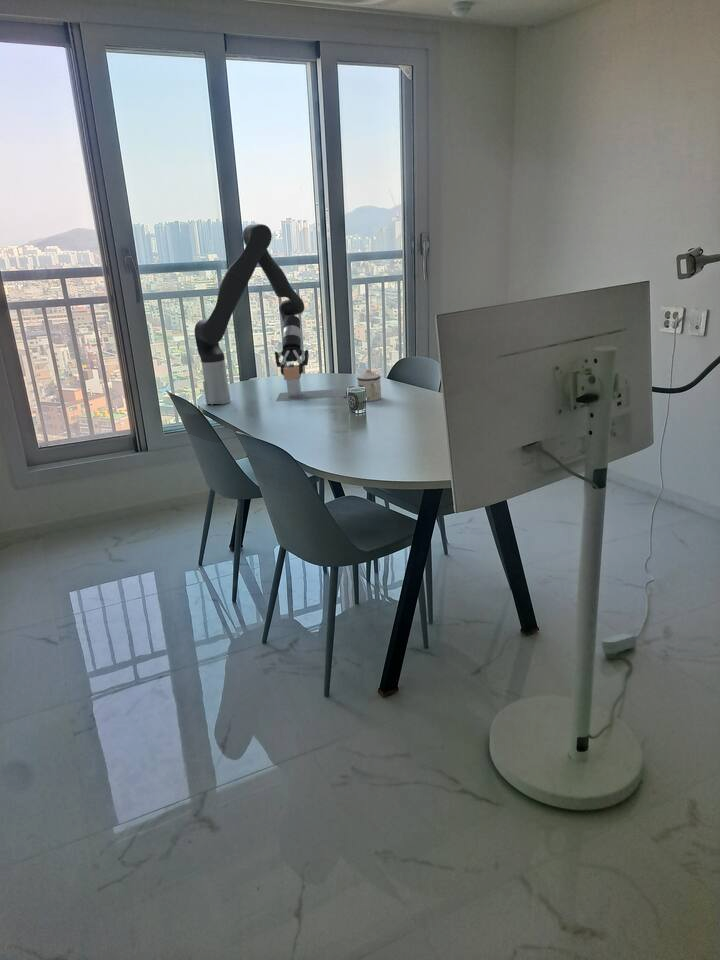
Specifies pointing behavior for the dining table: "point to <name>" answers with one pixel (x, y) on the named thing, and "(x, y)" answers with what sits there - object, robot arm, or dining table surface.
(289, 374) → the cap lid
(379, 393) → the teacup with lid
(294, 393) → the steel tin
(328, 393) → the slate mat
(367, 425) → the dining table surface
